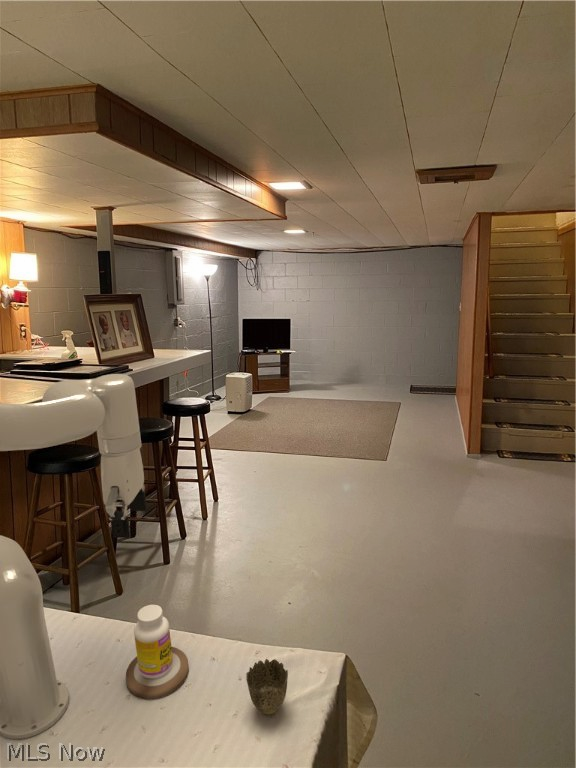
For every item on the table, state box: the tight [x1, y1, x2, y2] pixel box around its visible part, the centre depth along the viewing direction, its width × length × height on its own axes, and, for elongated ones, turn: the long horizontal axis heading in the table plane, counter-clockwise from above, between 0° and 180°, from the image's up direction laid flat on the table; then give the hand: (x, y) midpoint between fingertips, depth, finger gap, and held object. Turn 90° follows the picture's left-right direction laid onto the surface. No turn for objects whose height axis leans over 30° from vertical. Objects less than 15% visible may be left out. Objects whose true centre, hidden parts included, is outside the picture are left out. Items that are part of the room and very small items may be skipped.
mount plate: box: [125, 646, 190, 700], centre depth 111 cm, size 12×12×2 cm
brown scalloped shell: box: [245, 658, 289, 717], centre depth 101 cm, size 8×7×8 cm
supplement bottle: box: [133, 604, 173, 678], centre depth 109 cm, size 7×7×13 cm
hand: (130, 523), depth 108 cm, fingers open, 9 cm apart
